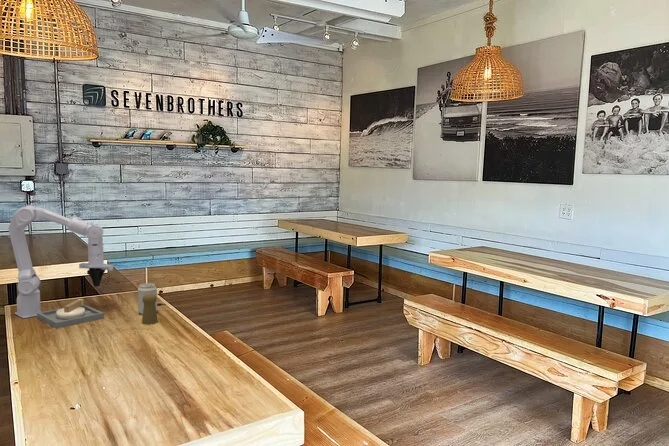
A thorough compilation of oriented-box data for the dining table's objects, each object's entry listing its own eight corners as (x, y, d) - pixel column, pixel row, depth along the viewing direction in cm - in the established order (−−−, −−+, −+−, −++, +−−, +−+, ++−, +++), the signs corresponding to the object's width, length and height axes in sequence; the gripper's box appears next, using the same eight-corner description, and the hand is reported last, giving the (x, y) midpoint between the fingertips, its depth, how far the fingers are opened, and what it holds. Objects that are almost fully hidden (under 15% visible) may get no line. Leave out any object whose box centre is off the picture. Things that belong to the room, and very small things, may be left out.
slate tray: (37, 318, 198) (37, 313, 198) (83, 309, 212) (83, 304, 212) (56, 328, 187) (56, 322, 186) (104, 318, 201) (104, 312, 200)
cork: (160, 320, 200) (160, 293, 199) (153, 324, 194) (153, 297, 193) (146, 319, 201) (145, 292, 200) (138, 323, 195) (138, 296, 194)
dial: (51, 318, 194) (50, 307, 194) (69, 308, 207) (69, 298, 207) (76, 319, 194) (76, 308, 194) (93, 309, 207) (93, 299, 207)
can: (153, 315, 206) (152, 287, 204) (135, 314, 206) (134, 286, 205) (159, 310, 213) (159, 282, 212) (142, 309, 213) (141, 282, 212)
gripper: (73, 254, 205) (74, 287, 207) (105, 256, 203) (106, 289, 204) (85, 251, 212) (86, 283, 214) (116, 253, 210) (116, 285, 211)
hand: (96, 286), depth 209 cm, fingers closed
